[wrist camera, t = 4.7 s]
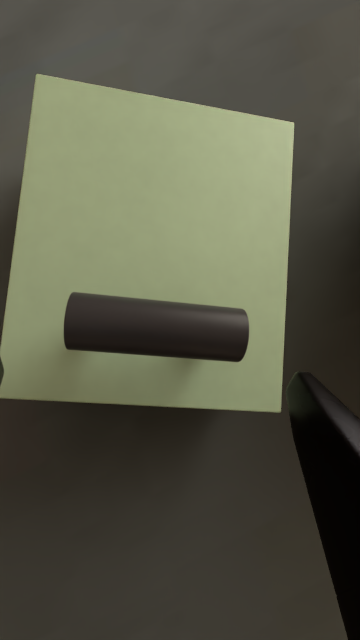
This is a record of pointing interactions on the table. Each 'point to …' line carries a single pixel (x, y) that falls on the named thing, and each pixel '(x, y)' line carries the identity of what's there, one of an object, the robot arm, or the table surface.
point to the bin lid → (148, 253)
